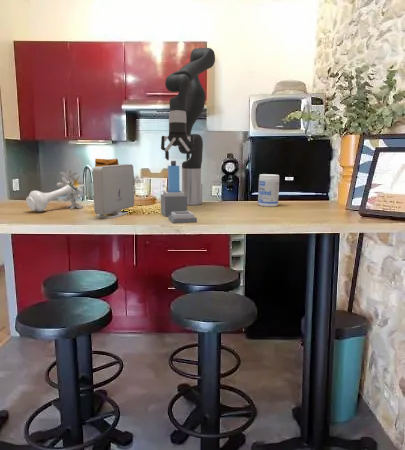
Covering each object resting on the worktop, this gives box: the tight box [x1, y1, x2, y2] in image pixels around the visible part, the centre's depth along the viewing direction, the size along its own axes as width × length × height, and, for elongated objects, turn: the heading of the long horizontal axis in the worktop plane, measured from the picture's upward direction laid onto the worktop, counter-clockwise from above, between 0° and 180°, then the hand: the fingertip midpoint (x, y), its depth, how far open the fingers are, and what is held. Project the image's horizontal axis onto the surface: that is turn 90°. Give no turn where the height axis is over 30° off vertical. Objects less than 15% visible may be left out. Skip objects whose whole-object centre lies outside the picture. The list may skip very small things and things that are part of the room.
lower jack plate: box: [167, 210, 198, 224], centre depth 163 cm, size 9×9×3 cm
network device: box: [92, 163, 135, 219], centre depth 176 cm, size 26×9×20 cm, turn 161°
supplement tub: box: [257, 173, 280, 208], centre depth 204 cm, size 10×10×15 cm
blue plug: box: [167, 160, 181, 193], centre depth 175 cm, size 4×4×14 cm
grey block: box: [160, 190, 188, 218], centre depth 177 cm, size 9×9×10 cm
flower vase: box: [25, 169, 85, 213], centre depth 189 cm, size 13×18×25 cm
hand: (177, 160), depth 188 cm, fingers open, 8 cm apart
